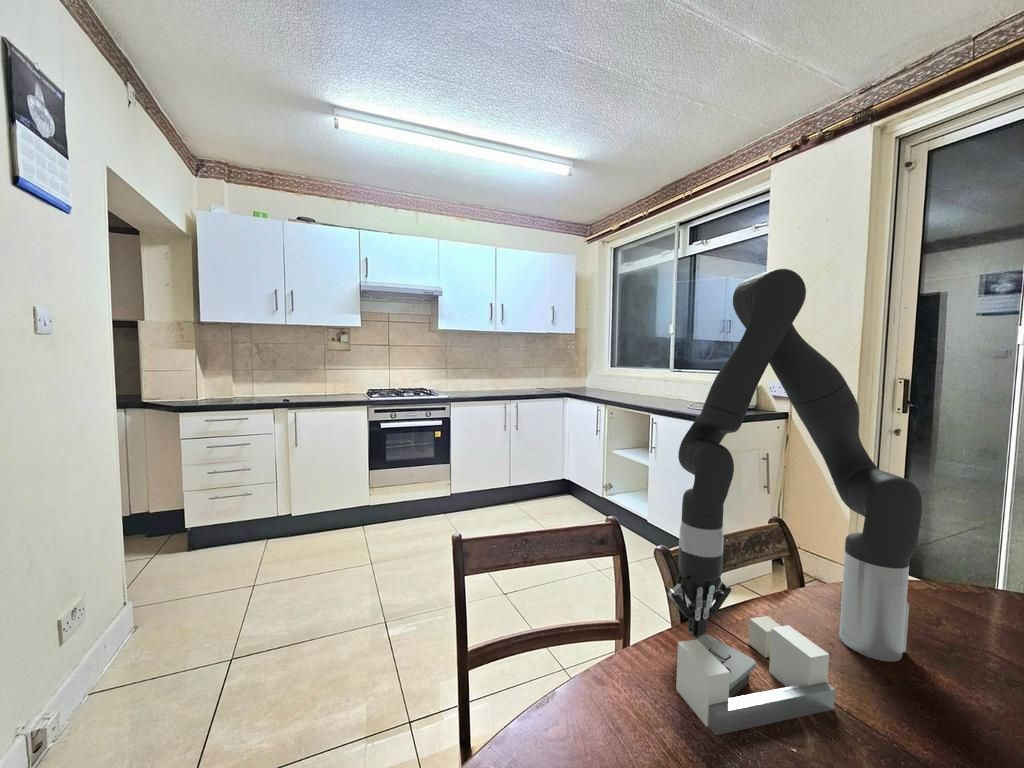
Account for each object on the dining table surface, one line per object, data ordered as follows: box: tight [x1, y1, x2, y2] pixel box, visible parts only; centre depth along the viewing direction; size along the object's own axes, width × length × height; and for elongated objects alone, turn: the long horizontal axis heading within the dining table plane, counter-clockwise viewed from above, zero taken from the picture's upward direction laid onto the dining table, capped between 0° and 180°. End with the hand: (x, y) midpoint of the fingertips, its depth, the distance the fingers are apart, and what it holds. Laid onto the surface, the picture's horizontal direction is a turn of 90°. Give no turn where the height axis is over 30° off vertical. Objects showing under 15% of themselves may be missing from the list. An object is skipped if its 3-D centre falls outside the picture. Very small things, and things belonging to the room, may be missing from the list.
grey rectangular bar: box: [707, 681, 836, 736], centre depth 65 cm, size 21×2×4 cm, turn 103°
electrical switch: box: [676, 633, 757, 698], centre depth 73 cm, size 9×5×9 cm
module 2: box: [768, 624, 830, 687], centre depth 72 cm, size 4×8×8 cm, turn 13°
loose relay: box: [748, 615, 782, 658], centre depth 81 cm, size 4×4×5 cm
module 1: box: [675, 638, 730, 728], centre depth 67 cm, size 4×8×8 cm, turn 13°
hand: (696, 635), depth 82 cm, fingers closed
